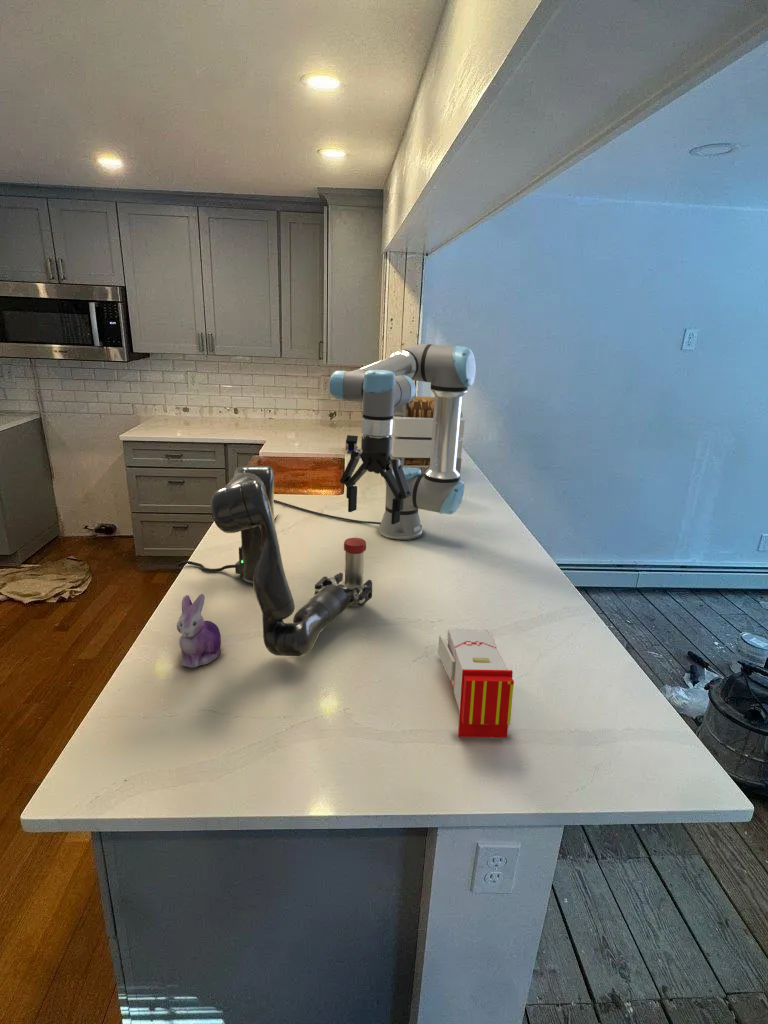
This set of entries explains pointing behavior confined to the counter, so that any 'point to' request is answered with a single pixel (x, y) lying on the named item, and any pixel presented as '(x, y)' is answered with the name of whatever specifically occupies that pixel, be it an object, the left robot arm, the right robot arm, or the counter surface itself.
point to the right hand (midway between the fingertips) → (373, 516)
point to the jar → (354, 571)
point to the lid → (355, 545)
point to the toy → (478, 682)
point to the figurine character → (351, 443)
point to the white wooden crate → (417, 433)
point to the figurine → (197, 634)
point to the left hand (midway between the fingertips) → (355, 579)
